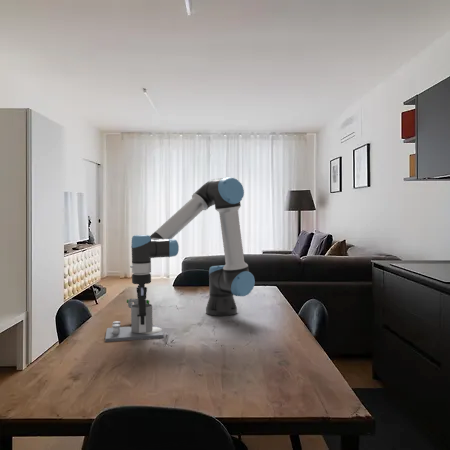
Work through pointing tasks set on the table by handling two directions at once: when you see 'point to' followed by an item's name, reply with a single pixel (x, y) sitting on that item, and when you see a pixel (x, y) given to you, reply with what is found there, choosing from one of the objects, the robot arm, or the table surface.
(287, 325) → the table surface
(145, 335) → the board
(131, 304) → the mechanical component
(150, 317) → the cup
